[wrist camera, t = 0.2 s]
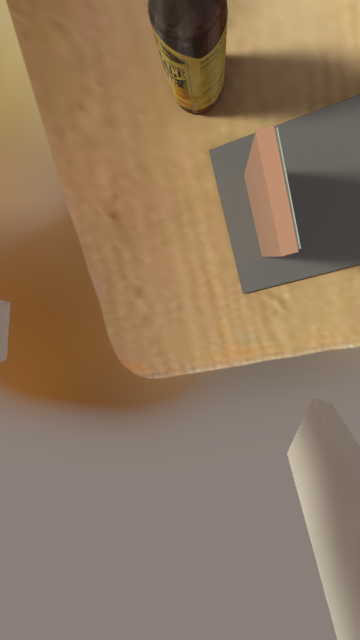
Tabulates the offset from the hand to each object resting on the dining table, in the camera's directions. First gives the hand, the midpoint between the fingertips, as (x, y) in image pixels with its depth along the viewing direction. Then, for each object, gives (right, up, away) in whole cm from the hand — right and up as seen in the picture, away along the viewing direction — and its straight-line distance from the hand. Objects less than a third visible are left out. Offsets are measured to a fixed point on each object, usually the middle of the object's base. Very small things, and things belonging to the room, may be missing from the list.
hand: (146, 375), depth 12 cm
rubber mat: (+17, +17, +22) cm, 32 cm away
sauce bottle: (+4, +30, +21) cm, 37 cm away
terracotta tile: (+11, +15, +23) cm, 29 cm away
